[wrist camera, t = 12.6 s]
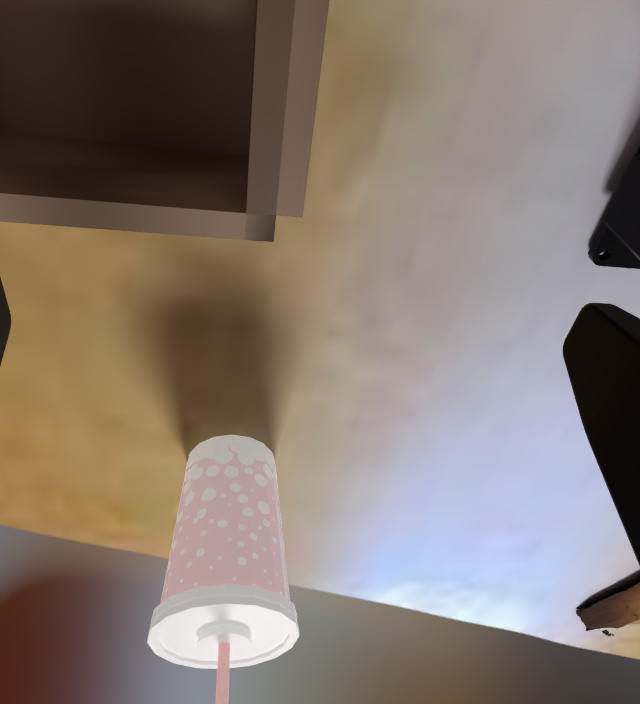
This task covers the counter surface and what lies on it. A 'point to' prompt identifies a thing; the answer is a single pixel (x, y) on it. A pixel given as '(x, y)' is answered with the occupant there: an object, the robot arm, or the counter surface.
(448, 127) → the counter surface
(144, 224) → the box
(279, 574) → the beverage cup
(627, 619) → the parchment
